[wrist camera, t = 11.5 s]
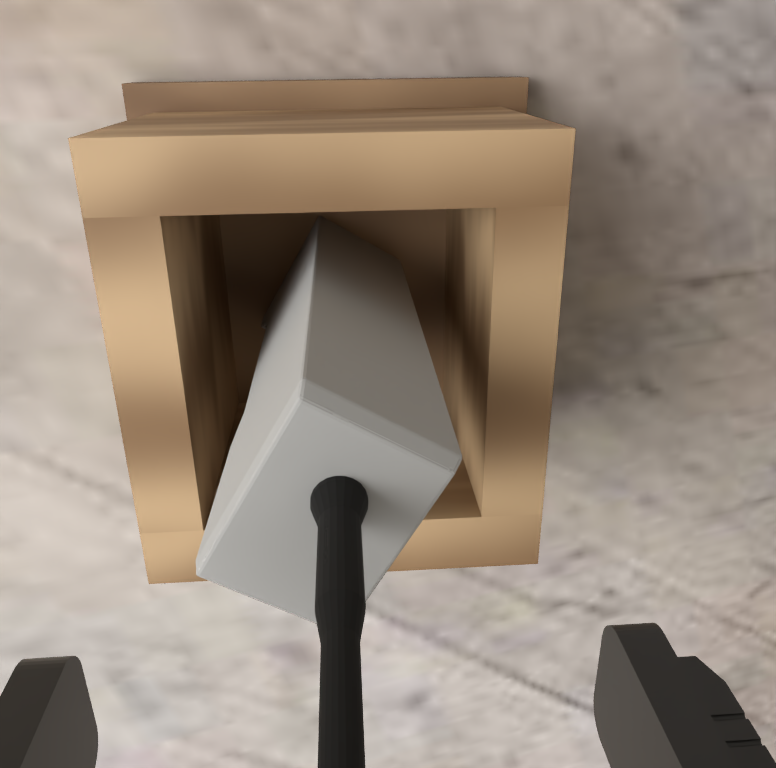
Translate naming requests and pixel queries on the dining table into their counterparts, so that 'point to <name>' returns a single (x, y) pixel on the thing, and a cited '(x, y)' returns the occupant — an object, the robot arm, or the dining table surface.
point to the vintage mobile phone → (332, 460)
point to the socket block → (279, 250)
